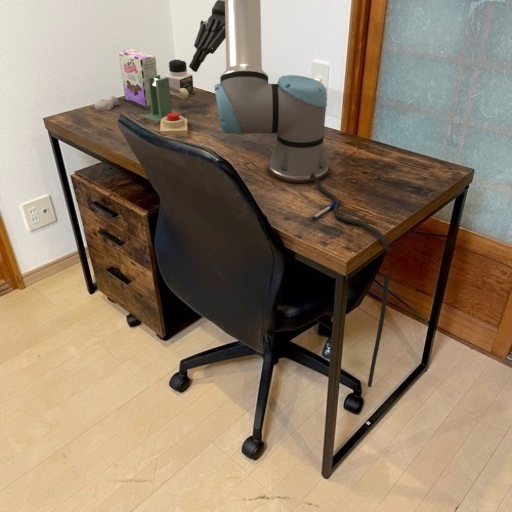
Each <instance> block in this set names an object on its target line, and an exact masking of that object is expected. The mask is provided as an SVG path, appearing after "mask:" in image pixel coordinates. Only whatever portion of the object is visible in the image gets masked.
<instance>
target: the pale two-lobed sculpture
mask: <svg viewBox="0 0 512 512" xmlns="http://www.w3.org/2000/svg"><path fill="white" fill-rule="evenodd" d="M93 105H94V106H93V107H94V109H95V110H96V111H99V112H105V111H111V110H112V109H114V107H118V105H119V100H118V98H117V97H116V96H114V95H110V97H109V98H107V99H104V98H103V99H101V100H97V101H95V102H94V103H93Z"/></svg>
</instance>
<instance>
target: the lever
mask: <svg viewBox="0 0 512 512" xmlns="http://www.w3.org/2000/svg"><path fill="white" fill-rule="evenodd" d="M156 80H158V79H157V78H154V80H153V83H152V86H155V87H156ZM169 88H170V90H171V91H173V92H176V93H178V96H177V97H178V98H179V99H180V100H183V101H185V100H186V99H188V98H189V95H190V93H188V91H187V89H185V88H181V89H179V90H177V89H175V88H172V87H170V86H169Z"/></svg>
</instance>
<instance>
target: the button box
mask: <svg viewBox="0 0 512 512" xmlns="http://www.w3.org/2000/svg"><path fill="white" fill-rule="evenodd" d="M159 125H160V127H159V134H162V135H161V136H173V135H176V136H177V135H188V134H189V132H188V131H189V130H188V118H187V117H186V118H185V117H184V116H183V115H179V120H178V121H168V120H167V116H166V117H164V118H162V119H161V121H160V124H159Z"/></svg>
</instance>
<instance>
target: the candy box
mask: <svg viewBox="0 0 512 512" xmlns="http://www.w3.org/2000/svg"><path fill="white" fill-rule="evenodd" d="M118 55H119V63H120V69H121V70H120V71H121V76H122V84H123V91H124V98H125V99H124V100H126V101H128V102H129V101H132V102H135V103H137V104H140V105H142V106H144V107H150V98H149V89H148V80H147V78H148V77H152V76H156V75H158V73H157V72H158V71H157V60H156V56H155V55H151V54H148V53H146V52H144V51H140V50H137V49H135V48H130V49H129V48H128V49H125V50H119V51H118Z"/></svg>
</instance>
